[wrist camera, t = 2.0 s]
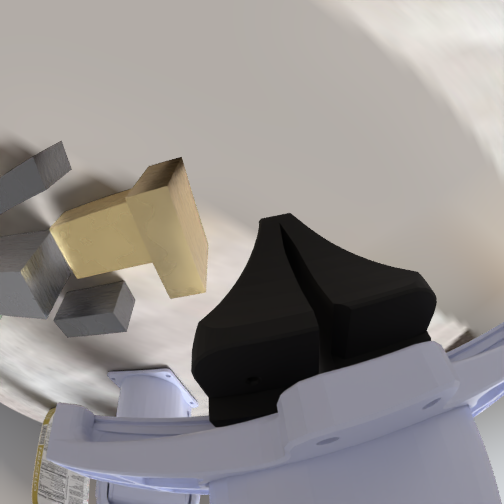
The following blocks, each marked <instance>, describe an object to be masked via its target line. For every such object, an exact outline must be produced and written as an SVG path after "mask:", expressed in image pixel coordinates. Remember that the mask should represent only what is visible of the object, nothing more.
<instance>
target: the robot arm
mask: <svg viewBox="0 0 504 504" xmlns="http://www.w3.org/2000/svg"><path fill="white" fill-rule="evenodd" d="M436 303H437V301H436V295H435V294H434V292H433V291H432V289H431V288H430V286H429V285H428V283H427V282H426V281H425V279H424V278H423V277H422V276H421V275H420V274H419V273H418V272H415V271H410V270H405V269H400V268H395V267H391V266H387V265H384V264H380V263H377V262H374V261H371V260H368V259H366V258H363V257H360V256H358V255H355V254H353V253H351V252H348V251H346V250H344V249H342V248H340V247H338V246H336V245H335V244H333V243H331V242H329V241H328V240H326V239H325V238H323V237H321V236H320V235H318V234H317V233H315V232H314V231H313V230H311V229H310V228H308V227H307V226H306V225H305V224H303V223H302V222H301V221H300V220H298V219H297V218H296V217H295V216H293V215H292V214H291V213H287V214H282V215H277V216H272V217H267V218H262V219H261V220H260V221H259V230H258V235H257V239H256V242H255V245H254V248H253V251H252V253H251V256H250V258H249V260H248V263H247V265H246V267H245V268H244V270H243V272H242V274H241V276H240V277H239V279H238V280H237V282H236V283H235V285H234V286H233V288H232V289H231V290H230V292H229V293H228V294H227V295H226V296H225V297H224V299H223V300H222V301H221V302H220V303H219V304H218V305H217V306H216V307H215V308H214V309H213V310H212V311H211V312H210V313H209V314H208V315H207V316H206V317H204V318H203V319H202V320H201V321H200V322H199V323H198V326H197V329H196V333H195V338H194V342H193V348H192V369H191V372H192V374H193V377H194V379H195V380H196V381H197V383H198V384H199V385H200V387H201V388H202V389H203V391H204V392H205V393H206V395H207V396H208V397H209V416H196V417H191V408H194V407H198V403H197V401H196V400H195V399H194V398H193V397H192V396H191V394H190V393H189V392H188V391H187V390H186V388H185V387H184V386H183V385H182V384H181V382H180V381H179V380H178V379H177V377H176V376H175V375H174V374H173V372H172V371H171V370H170V369H167V368H165V369H152V370H138V371H117V372H108V374H107V376H108V377H109V378H110V379H111V380H112V381H113V382H114V383H115V384H116V385H117V386H118V387H119V388H120V395H119V401H118V407H117V413H116V417H111V416H98V415H94V414H93V413H92V412H91V411H90V410H88V409H87V408H85V407H83V406H81V405H77V404H68V403H60V402H59V403H57V406H56V410H55V414H54V418H53V423H52V427H51V432H50V437H49V442H48V448H47V454H46V458H47V460H49V461H51V462H53V463H55V464H57V465H59V466H61V467H64V468H66V469H68V470H70V471H73V472H75V473H78V474H80V475H83V476H85V477H88V478H91V479H96V498H97V503H96V504H199V501H200V495H201V494H204V495H209V498H210V504H502V503H501V499H500V495H499V491H498V487H497V484H496V480H495V476H494V473H493V470H492V467H491V464H490V461H489V458H488V455H487V452H486V449H485V446H484V443H483V441H482V438H481V436H480V433H479V430H478V428H477V425H476V423H475V421H474V418H473V417H475V416H476V415H478V414H479V413H481V412H482V411H484V410H485V409H486V408H487V407H489V406H490V405H492V404H493V403H494V402H496V401H497V400H498V399H500V398H501V397H502V396H503V395H504V322H503V323H501V324H500V325H498V326H496V327H495V328H493V329H491V330H489V331H488V332H486V333H484V334H482V335H481V336H479V337H477V338H475V339H473V340H471V341H469V342H468V343H466V344H464V345H462V346H460V347H458V348H456V349H454V350H452V351H450V352H447V353H446V352H445V351H444V349H443V347H442V345H440V344H438V343H437V342H435V341H431V337H430V336H429V334H428V332H427V328H428V326H429V324H430V321H431V319H432V316H433V314H434V311H435V307H436Z"/></svg>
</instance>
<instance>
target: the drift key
mask: <svg viewBox="0 0 504 504" xmlns="http://www.w3.org/2000/svg"><path fill="white" fill-rule="evenodd" d="M49 230H50V232H51V234H52V236H53V238H54V239H55V241H56V243H57V245H58V247H59V249H60V250H61V252H62V254H63V256H64V258H65V259H66V261H67V263H68V264H69V266H70V268H71V269H72V271H73V273H74V274H75V276H76V278H77V279H80V278H84V277H89V276H93V275H97V274H102V273H106V272H111V271H115V270H120V269H124V268H129V267H133V266H138V265H143V264H147V263H152V262H153V264H154V266H155V268H156V270H157V273H158V275H159V277H160V279H161V281H162V283H163V285H164V287H165V289H166V291H167V293H168V295H169V297H170V299H172V298H177V297H183V296H189V295H194V294H199V293H205V292H206V279H207V259H208V242H207V239H206V236H205V233H204V230H203V226H202V223H201V220H200V217H199V214H198V210H197V207H196V204H195V201H194V197H193V194H192V191H191V187H190V184H189V181H188V177H187V174H186V170H185V167H184V163H183V160H182V157H180V158H176V159H172V160H169V161H165V162H162V163H158V164H155V165H152V166H149V167H148V168H147V169H146V171H145V172H144V173H143V174H142V176H141V177H140V179H139V180H138V181H137V182H136V184H135V185H134V187H133V188H132V189H129V190H125V191H122V192H119V193H116V194H113V195H110V196H107V197H104V198H101V199H98V200H96V201H93V202H90V203H87V204H84V205H82V206H79V207H76V208H74V209H71V210H68V211H66V212H64V213H63V214H62V215H61V216H60V217H59V218H58V219H57V220H56V222H55V223H54V224H53V225H52V226H51V227H50V229H49Z"/></svg>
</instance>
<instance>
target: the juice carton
mask: <svg viewBox="0 0 504 504" xmlns="http://www.w3.org/2000/svg"><path fill="white" fill-rule="evenodd" d="M55 410H56V408H53V409H50V410H49V411H48V413H47V415H46V417H45V419H44V421H43V425H42V429H41V434H40V438H39V443H38V449H37V455H36V460H35V468H34V474H33V483H32V504H88V497H89V481H90V478H88V477H85V476H83V475H80V474H78V473H75V472H73V471H70V470H68V469H66V468H64V467H61V466H59V465H57V464H55V463H53V462H51V461H49V460H47V458H46V454H47V448H48V442H49V437H50V432H51V427H52V423H53V418H54V414H55Z"/></svg>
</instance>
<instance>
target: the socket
mask: <svg viewBox="0 0 504 504" xmlns="http://www.w3.org/2000/svg"><path fill="white" fill-rule="evenodd" d="M70 170H72V169H71V166H70V164H69V161H68V158H67V155H66V153H65V150H64V147H63V144H62V141H60V142H58V143H56V144H54V145H53V146H51V147H49V148H47V149H45V150H44V151H42V152H40V153H38V154H37V155H35V156H33V157H31V158H30V159H28V160H26V161H25V162H23V163H22V164H20V165H18V166H17V167H15V168H14V169H12V170H11V171H9V172H8V173H6V174H5V175H3V176H2V177H0V214H2V213H3V212H5V211H7V210H9V209H10V208H12V207H14V206H16V205H18V204H19V203H21V202H23V201H25V200H27V199H29V198H31V197H33V196H35V195H37V194H39V193H41V192H43V191H45V190H47V189H48V188H49V187H50V186H51V185H53V184H54V183H55V182H56V181H57V180H59V179H60V178H61V177H63V176H64V175H65V174H66V173H68V172H69V171H70ZM134 303H135V299H134V297H133V295H132V294H131V292H130V290H129V288H128V287H127V285H126V283H125V281H122V282H117V283H112V284H107V285H102V286H97V287H92V288H87V289H82V290H77V291H72V292H67V294H66V296H65V298H64V300H63V302H62V304H61V306H60V308H59V310H58V312H57V314H56V316H55V318H54V322H55V323H56V324H57V325H58V327H59V328H60V329H61V330H62V332H63V333H64V334H65V335H66V336H67V337H78V336H89V335H100V334H109V333H118V332H127V329H128V325H129V321H130V317H131V314H132V310H133V307H134Z"/></svg>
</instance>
